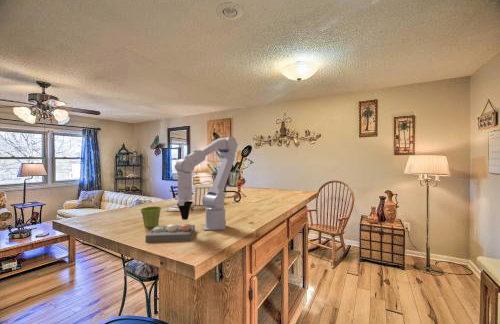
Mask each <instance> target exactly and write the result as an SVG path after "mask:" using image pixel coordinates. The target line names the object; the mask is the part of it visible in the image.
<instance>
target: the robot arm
mask: <svg viewBox="0 0 500 324" xmlns="http://www.w3.org/2000/svg"><path fill="white" fill-rule="evenodd" d="M238 146H239V145H238V142H237V139H236V138H235V137H234V136H229V137H218V138H217V139H214V140H213V141H212V142H210V143H209V144H208V145H206V146H205V147H204V148H202V149H193V150H192V152H191V153H189V154H186V155H184V158H179V159H178V160H177V161H176V163H175V164H174V169H175V171H176V174H177V197H174V200H175V201H177V203H176V206H177V207H178V210H179V212H180V216H181V219H182V221H186V220H188V219H189V215H190V210H191V207H192V204H193V201H191V200H193V189H192V188H193V187H192V185H193V184H192V183H193V181H192V179H193V175H192V172H193V171H194V170H195V167H197V166H198V165H200V164H201V163H203V162H204V161H205V160H206V158H207V156H208V155H209V156H210V154H212V153H214V152H215V151H218V152H219V154H220V155H221V156H222V157H223V158H222V160H221V164H220V166H219V169H218V171H217V174H216V177H215V178H214V181H213V183H212V186H211V187H210V188H209V189H208V190H207V191H206V192H205V194H204V195H203V197H202V200H201V201H202V204H203V206H204V209H205V225H204V228H203V231H214V230H215V231H219V230H222V231H224V230H226V225H227V220H226V208H223V207H224V205H225V198H226V193H225V192H224V189H225V188H226V183H227V181H228V178H229V176H230V172H231V170H232V168H233V165H234V162H235V159H236V152H237V148H238Z"/></svg>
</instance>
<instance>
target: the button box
mask: <svg viewBox="0 0 500 324" xmlns="http://www.w3.org/2000/svg"><path fill="white" fill-rule="evenodd" d="M167 225H168V224H166V225H158V226H155V227H164V231H163V232H153V228H151V230H150V231H149V232H147V234H146V235H145V243H152V242H153V243H159V242H183V241H185V242H186V241H189V242H190V241H191V240H192V238H193V235H194V233H195V232H196V226H195V225H196V224H190V231H186V232H180V225H181V224H177V232H167ZM155 227H154V228H155Z"/></svg>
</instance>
